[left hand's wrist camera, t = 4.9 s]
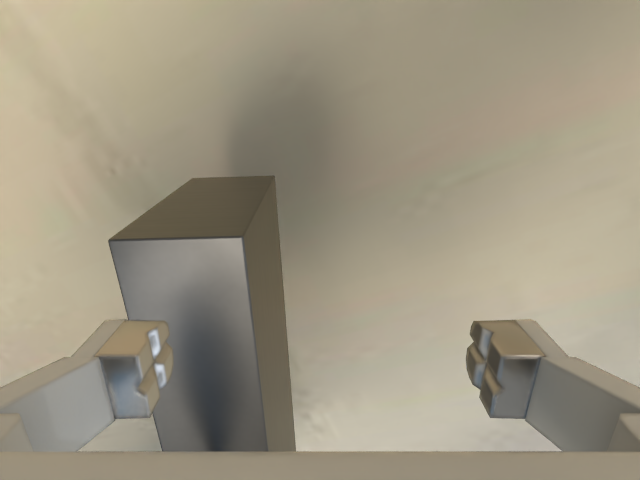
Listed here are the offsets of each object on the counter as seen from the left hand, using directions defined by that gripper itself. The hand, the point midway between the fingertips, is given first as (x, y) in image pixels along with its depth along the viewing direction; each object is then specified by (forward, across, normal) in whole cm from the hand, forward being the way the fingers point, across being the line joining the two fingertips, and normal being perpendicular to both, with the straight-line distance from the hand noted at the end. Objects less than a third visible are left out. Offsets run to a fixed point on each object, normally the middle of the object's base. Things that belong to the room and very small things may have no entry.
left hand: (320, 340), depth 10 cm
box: (+18, +6, +13) cm, 23 cm away
